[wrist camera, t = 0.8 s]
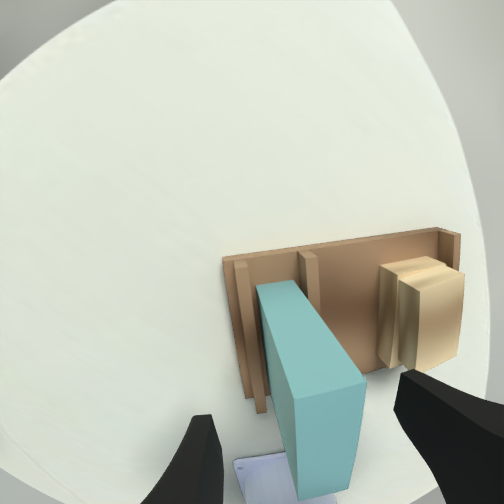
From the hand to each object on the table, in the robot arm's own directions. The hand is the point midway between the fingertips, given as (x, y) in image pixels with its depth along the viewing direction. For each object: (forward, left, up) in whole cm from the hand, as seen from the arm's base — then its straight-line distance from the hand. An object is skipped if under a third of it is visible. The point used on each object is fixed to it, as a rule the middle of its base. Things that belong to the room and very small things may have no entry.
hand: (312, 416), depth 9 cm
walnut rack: (0, -4, -8) cm, 9 cm away
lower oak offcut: (0, -8, -7) cm, 11 cm away
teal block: (0, 0, -7) cm, 7 cm away
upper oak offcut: (0, -8, -5) cm, 10 cm away
